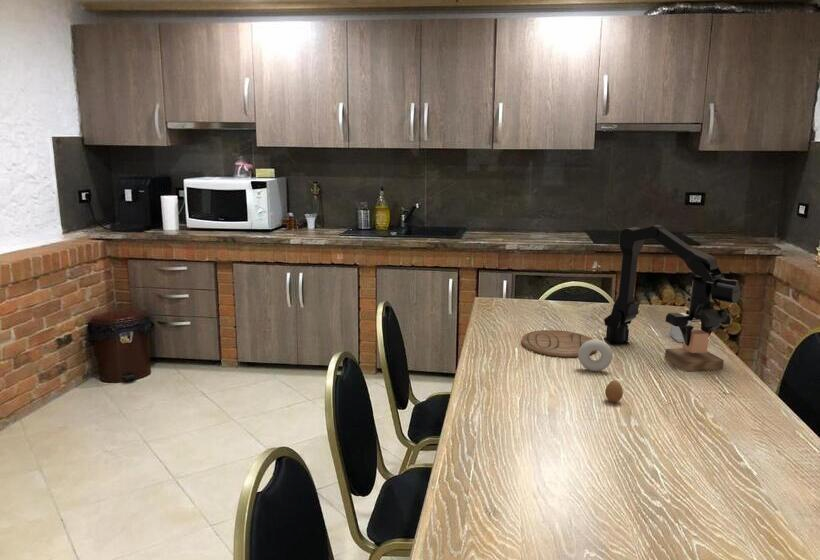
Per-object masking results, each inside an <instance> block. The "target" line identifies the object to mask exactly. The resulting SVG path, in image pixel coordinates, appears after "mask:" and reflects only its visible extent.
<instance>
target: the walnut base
mask: <svg viewBox="0 0 820 560" xmlns="http://www.w3.org/2000/svg"><path fill="white" fill-rule="evenodd" d="M664 358H665V359H666V360H668V362H669V361H670V362H671V363H673V364H674V365H676V366H677V367H679V368H681V369H683V370H684V371H685V370H686V371H685V372H696V371H697V372H698V371H699V370H702V371H714V370H715V371H717V370H718V371H719V370H723V369H724V361H725V360H724V359H722V358H720V357H719V356H717V355H715V354H713V353H712V352H710V351H708V350H707V352H701V353H691V352H689V351H688V350H686V349H684V348H683V347H681V348H680V347H678V348H665V352H664ZM699 372H700V371H699Z"/></svg>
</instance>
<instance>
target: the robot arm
mask: <svg viewBox="0 0 820 560" xmlns="http://www.w3.org/2000/svg"><path fill="white" fill-rule="evenodd" d="M651 239H653V240H654V241H656V242H657V243H658V244H660V245H662V247H664V248H665V249H667V250H668V251H670V252H671V253H673V254H675V256H677V257H679V259H681V260H682V261H683V262H684V264H685V266H686V267H687V268H688V269H689V271H691V272H692V273H691V274H689V276H687V277H685V280H686V281H689V282H691V284H692V285H691V291H690V297H687V302H689V308H688V310H687V309H686V312H685V314H686V315H688V316H684V315H682V314H680V313H681V312H667V314H666V316H665V322H666V323H668V324H670V325H671V324H672V325H674V326H677V327H679V328H680V330H681V332H682V335H683V338H684V341H685V344H686V345H687V346H689V343H690V337H691V330H692V329H695V326H693V325H692V326H691V322H693V323H697V322H700V329H701V330H703V331H705V332H707V333H709V337H710V335H711V334H712V333H713V331H714V330H715V329H716V330H717V328H720V327H721V325H722V326H725V325H731V323H732V318H731V315H729V314H728V311H727V309H725V308H724V309H716V308H715V307H714V306H715V303H714V301H712V298H713V299H714V300H716V301H720V302H721V301H722V302H725V303H730V304H737V303H738V302H739V300H740V297H741V293H742V290H741V286H740V284H739V280H738V279H728V278H725V276H724V274H723V273H722V271H721V269H720V267H719V263H718V260H717V258H716V257H715V256H713V255H712V254H709V253H707V252H704V251H702V250H698V249H695V248H693V247H692V246H691V245H689V244H687V243H686V242H685V241H683V240H682V239H680V238H679V237H678V236H676V235H675V234H673V233H671V231H669V230H667V229H666V228H665V227H664V226H663V225H660V224H657V225H651V226H649V227H645V228H641V227H637V226H636V227H630V228H629V227H628V228H624V229H622V230H621V231H620V233H619V235H618V241H619V248H620V252H621V254H622V257H621V267H620V269H621V270H620V276H619V277H620V278H619V287H618V288H619V289H618V294H617V295H618V296H617V298H616V299H615V301H614V303H613V306H612V309H611V312H610V313H611V314H608V315H607V316H606V317H605V318H604V319H603V322H604V326H606V330H605V332H606V333H605V337H603V341H604V342H605V341H606V343H607V344H608V343H609V345H612V346H617V345H619V346H620V345H630V342H629V336H630V335H629V334H630V329H629V325H630V324H631V323H632V321H633V320H635V319H636V318H637V315H638V314H640V313H639V307H640V302H639V301H636V300H635V297H634V293H635V285H636V278H637V276H636V274H637V266H638V257H639V255H640V252H641V251H642V249H643V247H644V243H645V240H651Z"/></svg>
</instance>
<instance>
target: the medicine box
mask: <svg viewBox="0 0 820 560" xmlns="http://www.w3.org/2000/svg"><path fill="white" fill-rule="evenodd" d="M679 313H680V314H682V315H684V316H688V314H686V312H679ZM693 323H694V322H691V326H693V325H694V324H693ZM669 331H670V332H669V336H670V337H671V338H673V339H674V340H675V341H677V342H678V343H682V342H683V340H684V338H683V335H682V332H681V330H680V328H679V327H677V326H674V325H672V324H670V329H669ZM682 344H683V343H682Z"/></svg>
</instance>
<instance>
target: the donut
mask: <svg viewBox="0 0 820 560" xmlns="http://www.w3.org/2000/svg"><path fill="white" fill-rule="evenodd" d="M592 339H593V340H589V341H586V342H585V343H584V344H582V346H581V347H580V349H579V352H578V358H577V359H578V361H579V363H580V365H582V367H583V368H584V369H587V370H588V371H591V372H601V371H604V370H605V369H608V367H609V366H610V365H611V363H612V362H613V359H614V358H613V350H612V348H611V346H609V345H610V344H608V342H605V340H601V339H596V338H595V339H594V338H592ZM595 350H596V351H597V352H599V353H600V357H599V358H598V359H595V360H594V359H592V358H591V356H590V353H591V352H592V351H595Z"/></svg>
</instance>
